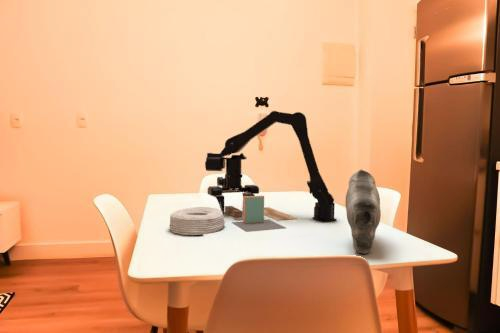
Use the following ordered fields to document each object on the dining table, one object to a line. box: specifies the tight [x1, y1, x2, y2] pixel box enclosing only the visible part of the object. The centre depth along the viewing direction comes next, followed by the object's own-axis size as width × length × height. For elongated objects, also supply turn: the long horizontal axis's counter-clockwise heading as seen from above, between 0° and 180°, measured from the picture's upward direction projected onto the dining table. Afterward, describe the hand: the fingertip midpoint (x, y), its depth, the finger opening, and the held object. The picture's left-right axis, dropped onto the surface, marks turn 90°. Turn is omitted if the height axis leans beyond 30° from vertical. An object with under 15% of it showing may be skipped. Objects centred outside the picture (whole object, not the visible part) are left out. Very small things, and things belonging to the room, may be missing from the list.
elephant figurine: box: [345, 168, 381, 255], centre depth 100 cm, size 25×9×20 cm, turn 165°
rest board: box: [264, 206, 298, 222], centre depth 139 cm, size 8×24×1 cm, turn 22°
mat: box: [231, 218, 287, 233], centre depth 119 cm, size 14×14×1 cm
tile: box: [242, 195, 265, 224], centre depth 122 cm, size 7×2×9 cm, turn 112°
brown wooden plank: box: [224, 205, 243, 222], centre depth 134 cm, size 16×5×3 cm, turn 22°
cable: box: [168, 206, 226, 236], centre depth 115 cm, size 18×18×6 cm
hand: (233, 212), depth 136 cm, fingers open, 8 cm apart
